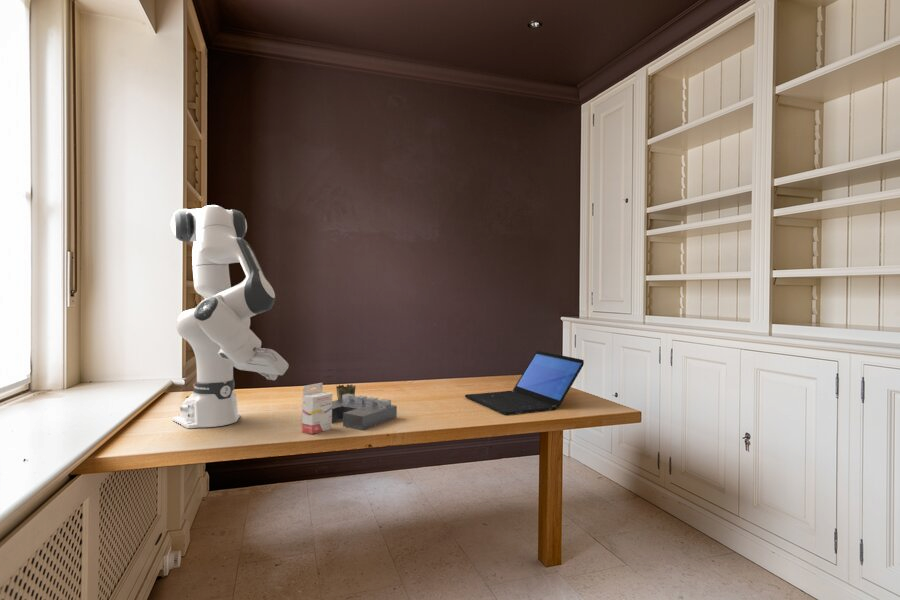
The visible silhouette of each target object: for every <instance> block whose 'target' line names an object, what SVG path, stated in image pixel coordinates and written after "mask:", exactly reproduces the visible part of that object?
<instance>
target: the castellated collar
mask: <svg viewBox="0 0 900 600" xmlns="http://www.w3.org/2000/svg"><path fill="white" fill-rule="evenodd" d="M397 409H398V407H397V405H393V404H392V399H386V398H382V399H379V397H373V396H370V397H369V396H367V395H361V394H360V395H356V394H344V395H342V399H340V400H338V399H336V400H332V423H333V421H334V422H337V421H340V420H342V427H344V426H345V428H349V427H350V428H349V429H355V430H358V431H359V430H360V431H364V430H367V429H368V430H369V429H370V427H371V428H373V427H376V426H379V425H382V424H385V423H388V422H390V421H389V420H391V421H393V420H392V419H394V420H396V419H395V418H397V417H398V416H397V414H398V412H397ZM339 419H340V420H339ZM336 420H337V421H336ZM387 421H388V422H387ZM384 422H385V423H384ZM381 423H382V424H381ZM378 424H379V425H378ZM375 425H376V426H375Z"/></svg>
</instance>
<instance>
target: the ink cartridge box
mask: <svg viewBox="0 0 900 600" xmlns="http://www.w3.org/2000/svg"><path fill="white" fill-rule="evenodd" d="M323 385H324V384H323V382H319V383H313V384H307V385H304V386H303V392H302V394H303V395H302V410H301V411H302V413H301V414H302V417H301V418H302V419H301V422H302V424H301V425H302V426H301V433H305V434H310V435H315V434H317V433H321V432H325V431H328V430H331V429H332V423H333V422H332V401H333V392H328V391H323ZM313 388H314V389H313Z"/></svg>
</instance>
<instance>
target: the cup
mask: <svg viewBox="0 0 900 600" xmlns="http://www.w3.org/2000/svg"><path fill="white" fill-rule="evenodd" d="M356 387H357V386H356V385H353V384H348V383H347V385H345V386H344V384H342V385H341V384H338V385H336V388H335V389H336V396H337V400H340V399H342V395H344V394H355V393H356ZM355 395H356V394H355Z"/></svg>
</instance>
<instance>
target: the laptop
mask: <svg viewBox="0 0 900 600" xmlns="http://www.w3.org/2000/svg"><path fill="white" fill-rule="evenodd" d="M584 361H585V360H584V359H580V358H575V357H572V356H567V355H561V354H557V353H551V352H545V351H541V350H536V351H535V353H534V355H533V357H532V359H530V361H529V363H528V365H527V366H526V368H525V369H524V370H523V373H522V375H521V376H520V378H519V379H518V381H517V382H516V384H515V386H514V388H513V389H512V390H504V391H491V392H484V393H483V392H481V393H468V394H464V397H465V398H467V399H468V400H470V399H471V401H473V402H475V401H476V403H478V404H480V405H482V406H484V407H486V406H487V407H486V408H488V407H489V409H491V410H493V411H495V412H497V411H498V413H500V414H502V415H504V416H510V415H509V414H513V415H519V414H518V413H521V414H527V413H526V412H529V413H536V412H535V411H539V412H546V411H545V410H551V411H554V410H553V409H555V410H557V408H560V406H561V405H562V403H563V401H564V399H565V397H566V396H567V394H568V393H569V391H570V390H571V388H572V386H573V384H574V382H575V380H576V379H577V377H578V375H579V373H580V372H581V370H582V369H583V366H585V365H584V363H585V362H584Z"/></svg>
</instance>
